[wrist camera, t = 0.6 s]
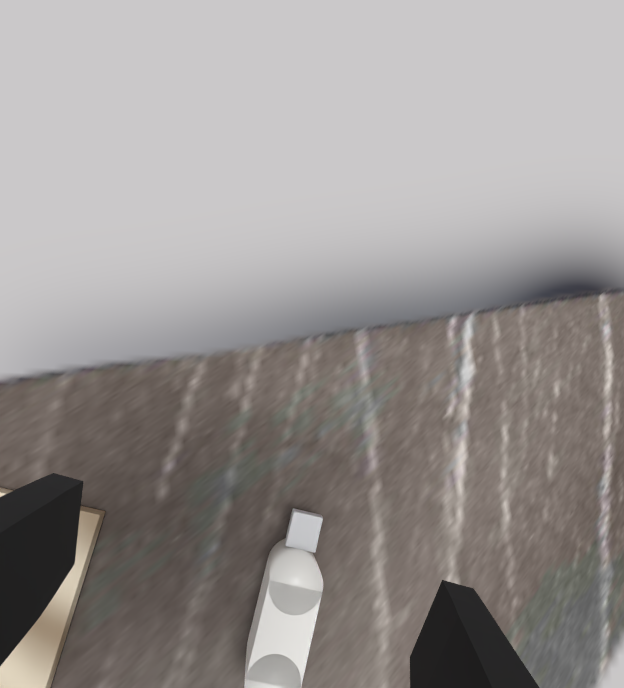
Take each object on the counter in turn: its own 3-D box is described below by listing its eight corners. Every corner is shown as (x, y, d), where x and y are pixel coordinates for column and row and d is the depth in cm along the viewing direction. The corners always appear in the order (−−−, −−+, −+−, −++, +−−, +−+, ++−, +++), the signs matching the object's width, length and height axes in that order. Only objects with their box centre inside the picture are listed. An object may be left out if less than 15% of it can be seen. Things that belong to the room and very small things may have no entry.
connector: (288, 677, 28) (293, 721, 24) (240, 667, 27) (237, 710, 24) (326, 511, 29) (336, 526, 25) (282, 500, 29) (285, 514, 25)
